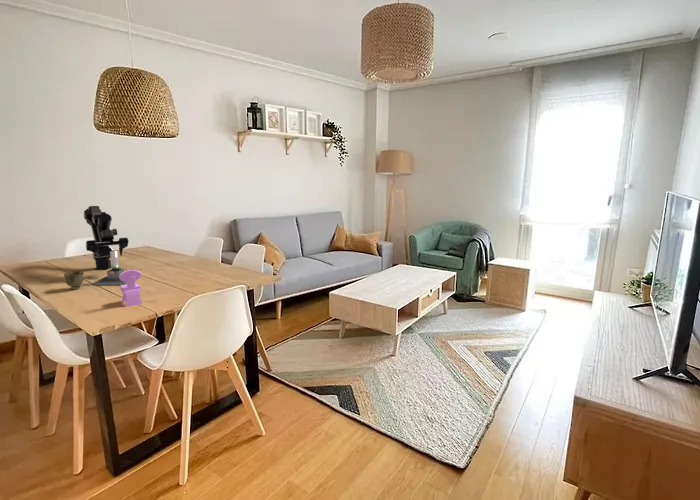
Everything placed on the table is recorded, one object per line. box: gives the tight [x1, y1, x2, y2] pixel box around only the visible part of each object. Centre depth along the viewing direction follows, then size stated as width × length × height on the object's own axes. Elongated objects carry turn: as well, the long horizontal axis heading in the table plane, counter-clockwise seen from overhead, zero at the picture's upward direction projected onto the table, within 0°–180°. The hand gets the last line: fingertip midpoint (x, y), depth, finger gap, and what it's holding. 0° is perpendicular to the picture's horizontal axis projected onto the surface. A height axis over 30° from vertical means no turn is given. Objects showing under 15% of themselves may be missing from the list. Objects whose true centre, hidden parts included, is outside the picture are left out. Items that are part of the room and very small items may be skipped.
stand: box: [93, 268, 127, 286], centre depth 189 cm, size 14×14×6 cm
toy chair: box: [119, 269, 143, 308], centre depth 158 cm, size 8×9×15 cm
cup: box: [63, 270, 85, 291], centre depth 175 cm, size 8×7×8 cm
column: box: [110, 250, 120, 271], centre depth 187 cm, size 4×4×12 cm
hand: (111, 256), depth 193 cm, fingers open, 9 cm apart
